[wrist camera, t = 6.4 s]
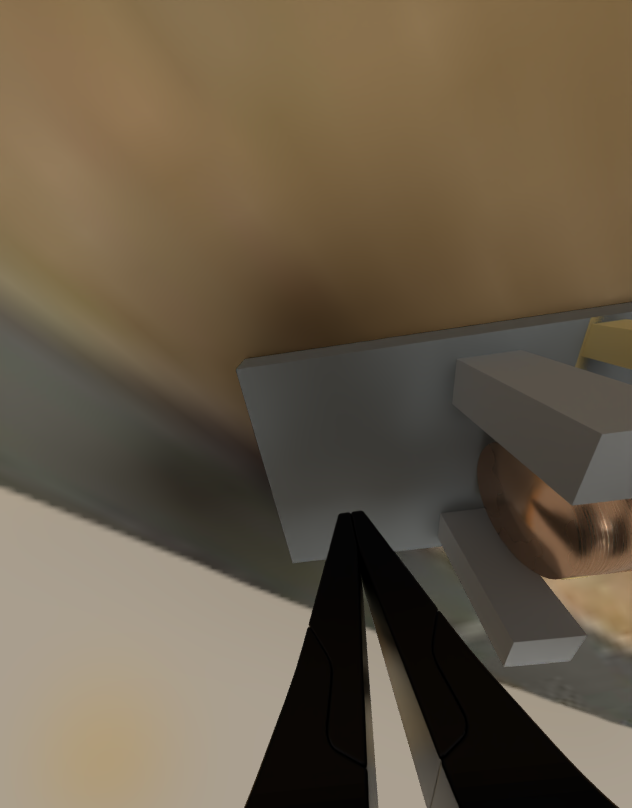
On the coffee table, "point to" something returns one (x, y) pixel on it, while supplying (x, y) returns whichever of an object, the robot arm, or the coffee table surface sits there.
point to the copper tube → (552, 521)
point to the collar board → (451, 447)
